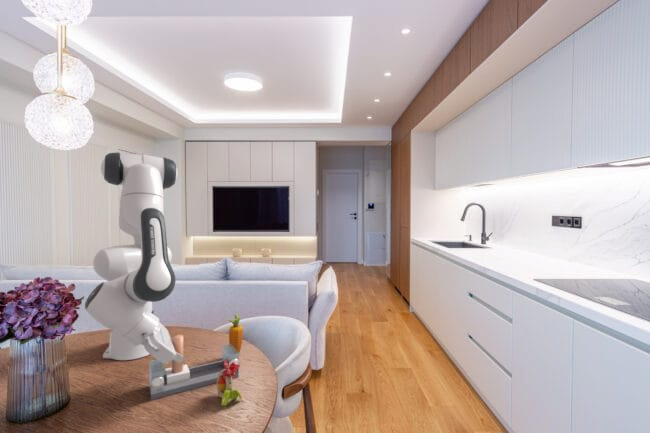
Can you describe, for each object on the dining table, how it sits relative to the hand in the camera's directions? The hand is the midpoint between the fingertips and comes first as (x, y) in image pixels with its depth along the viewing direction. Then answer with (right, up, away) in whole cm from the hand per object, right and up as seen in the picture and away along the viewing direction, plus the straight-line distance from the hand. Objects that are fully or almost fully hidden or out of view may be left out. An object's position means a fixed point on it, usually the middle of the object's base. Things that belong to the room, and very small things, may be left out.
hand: (179, 355), depth 93 cm
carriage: (-1, -7, 0) cm, 7 cm away
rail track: (+3, -9, +2) cm, 10 cm away
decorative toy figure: (+16, -10, -7) cm, 19 cm away
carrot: (+11, -9, +18) cm, 23 cm away
